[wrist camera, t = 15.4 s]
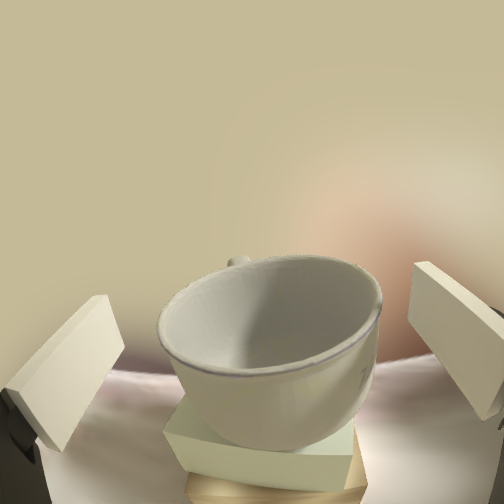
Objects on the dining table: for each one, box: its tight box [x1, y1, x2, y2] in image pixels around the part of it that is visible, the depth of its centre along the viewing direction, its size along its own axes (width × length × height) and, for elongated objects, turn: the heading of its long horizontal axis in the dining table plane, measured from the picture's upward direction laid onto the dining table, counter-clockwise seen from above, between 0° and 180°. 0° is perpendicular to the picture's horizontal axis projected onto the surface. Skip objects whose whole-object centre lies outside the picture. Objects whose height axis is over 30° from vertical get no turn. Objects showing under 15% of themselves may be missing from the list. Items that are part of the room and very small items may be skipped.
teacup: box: [157, 255, 383, 451], centre depth 17 cm, size 14×11×8 cm
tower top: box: [162, 394, 354, 492], centre depth 19 cm, size 11×11×5 cm
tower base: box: [185, 427, 368, 504], centre depth 20 cm, size 12×12×5 cm
